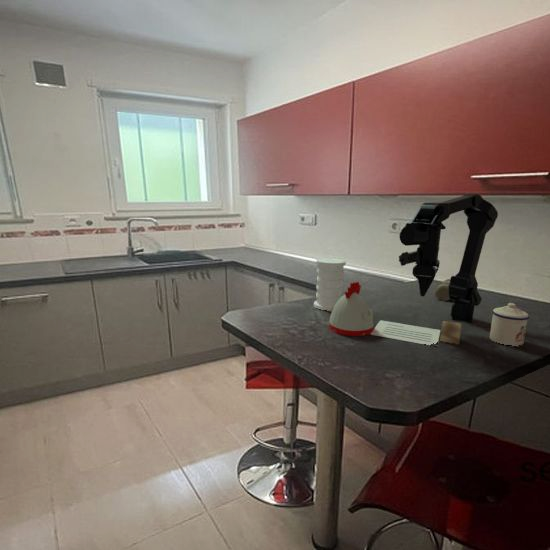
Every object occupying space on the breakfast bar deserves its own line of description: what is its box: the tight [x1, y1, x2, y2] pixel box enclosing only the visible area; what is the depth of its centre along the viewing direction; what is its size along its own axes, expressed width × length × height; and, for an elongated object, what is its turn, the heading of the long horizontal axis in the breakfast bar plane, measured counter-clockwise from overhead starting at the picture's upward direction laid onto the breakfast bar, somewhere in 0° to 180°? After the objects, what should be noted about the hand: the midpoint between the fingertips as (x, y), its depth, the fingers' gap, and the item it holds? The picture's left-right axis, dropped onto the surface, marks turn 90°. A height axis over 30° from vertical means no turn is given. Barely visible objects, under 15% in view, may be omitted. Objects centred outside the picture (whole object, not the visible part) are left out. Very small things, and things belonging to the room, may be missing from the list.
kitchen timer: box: [328, 281, 374, 337], centre depth 116 cm, size 14×14×15 cm
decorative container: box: [313, 257, 346, 312], centre depth 139 cm, size 12×12×18 cm
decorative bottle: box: [434, 278, 451, 302], centre depth 161 cm, size 26×8×7 cm, turn 147°
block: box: [439, 320, 462, 345], centre depth 109 cm, size 5×5×5 cm
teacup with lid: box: [489, 302, 530, 347], centre depth 109 cm, size 12×9×12 cm
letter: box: [369, 319, 442, 346], centre depth 115 cm, size 19×15×1 cm
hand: (424, 292), depth 116 cm, fingers open, 9 cm apart
